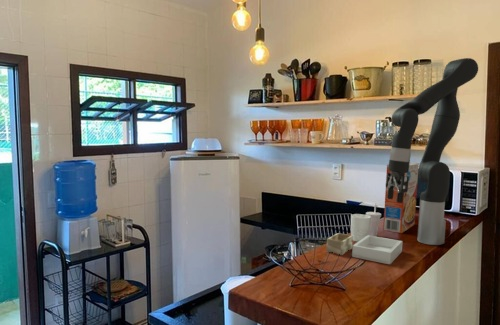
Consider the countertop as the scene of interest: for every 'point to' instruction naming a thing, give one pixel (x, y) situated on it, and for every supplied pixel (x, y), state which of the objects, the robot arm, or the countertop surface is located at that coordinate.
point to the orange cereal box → (402, 204)
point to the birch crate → (339, 243)
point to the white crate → (377, 249)
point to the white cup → (360, 226)
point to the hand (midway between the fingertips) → (394, 200)
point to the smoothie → (374, 222)
